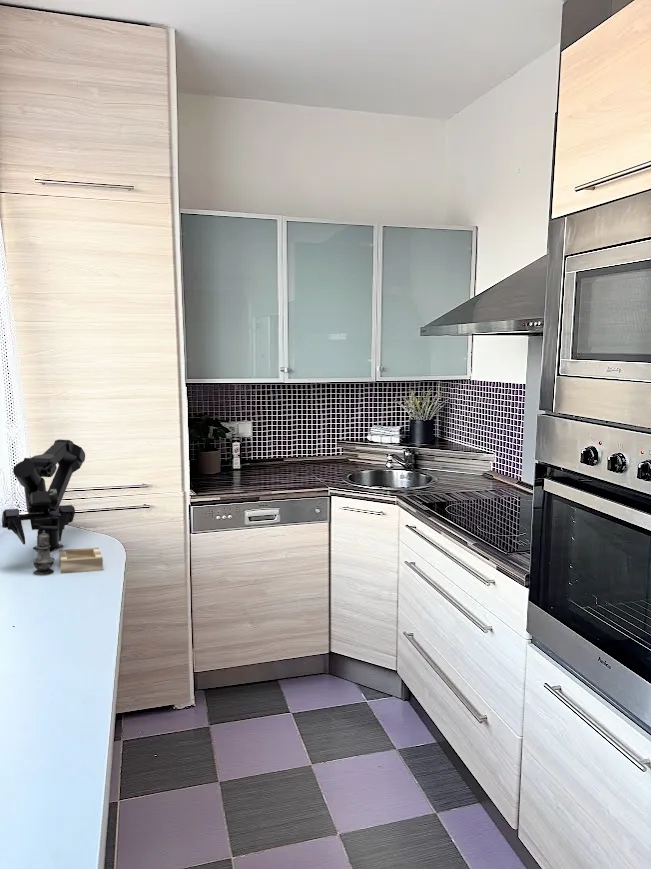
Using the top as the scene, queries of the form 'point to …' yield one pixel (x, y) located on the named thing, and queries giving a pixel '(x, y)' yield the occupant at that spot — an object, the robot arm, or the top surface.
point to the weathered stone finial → (43, 556)
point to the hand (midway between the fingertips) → (42, 542)
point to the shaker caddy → (80, 560)
